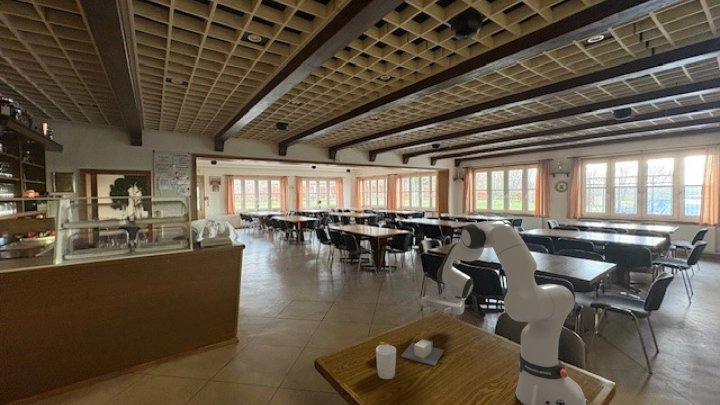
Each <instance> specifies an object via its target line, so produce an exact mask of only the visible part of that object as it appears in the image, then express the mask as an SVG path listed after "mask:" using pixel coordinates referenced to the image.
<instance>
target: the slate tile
mask: <svg viewBox="0 0 720 405" xmlns="http://www.w3.org/2000/svg"><path fill="white" fill-rule="evenodd" d="M415 344H416V342H412V341H411V343H410V344H409V346H407V347H406V349H405V350H404V351H403V352H402V354H400V358H403V359H406V360H407V359H408V360H411V361H414V362H417V363H422V364H426V365H429V366H433V367H436V365H437V364H438V362H439V360H440V359H441V357H442V355H443V353H444V351H445V349H442V348H438V347H433V351H432V352H431V353H430V354H429V355H427V356H426V357H425V358H421V357H418V356H416V355H414V345H415Z"/></svg>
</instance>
